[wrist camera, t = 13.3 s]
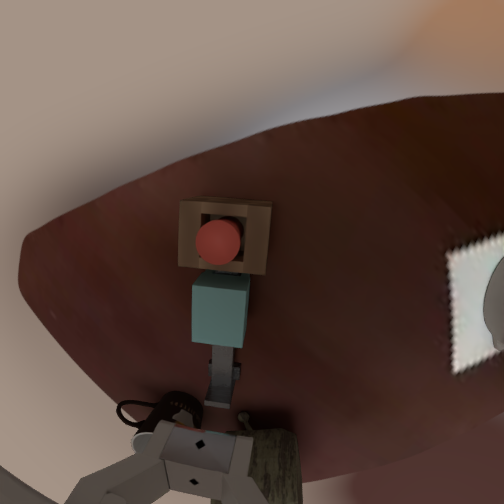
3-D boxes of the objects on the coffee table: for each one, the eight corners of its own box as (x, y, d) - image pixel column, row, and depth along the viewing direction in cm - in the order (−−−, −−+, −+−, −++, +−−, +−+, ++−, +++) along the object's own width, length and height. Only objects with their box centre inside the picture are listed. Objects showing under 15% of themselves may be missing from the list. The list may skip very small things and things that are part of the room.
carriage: (251, 272, 33) (246, 291, 28) (247, 322, 35) (242, 348, 29) (206, 267, 33) (192, 285, 28) (204, 316, 35) (191, 341, 29)
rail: (249, 258, 34) (243, 274, 29) (239, 380, 38) (233, 409, 33) (213, 254, 35) (201, 270, 29) (210, 376, 39) (200, 404, 33)
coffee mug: (221, 420, 41) (208, 469, 31) (175, 430, 42) (157, 475, 32) (178, 362, 39) (153, 409, 29) (132, 377, 40) (103, 419, 30)
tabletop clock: (229, 404, 40) (192, 561, 15) (293, 399, 39) (296, 565, 14) (247, 462, 43) (229, 588, 19) (301, 458, 42) (303, 588, 17)
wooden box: (272, 201, 33) (271, 207, 26) (267, 255, 34) (265, 275, 27) (199, 195, 33) (179, 200, 26) (196, 248, 35) (177, 265, 28)
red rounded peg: (248, 214, 30) (241, 222, 24) (245, 250, 31) (237, 267, 25) (211, 211, 30) (196, 219, 24) (209, 247, 31) (194, 262, 25)
